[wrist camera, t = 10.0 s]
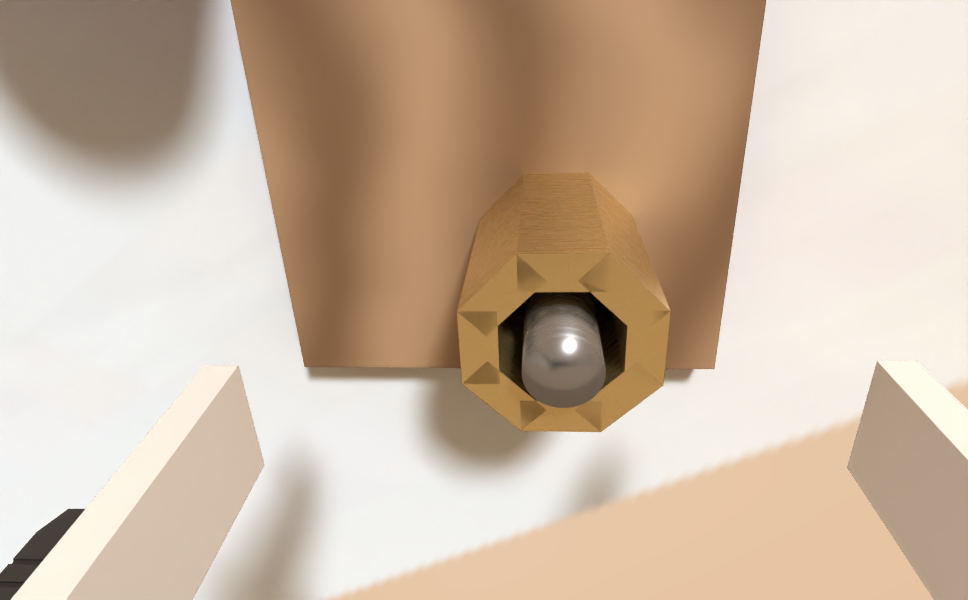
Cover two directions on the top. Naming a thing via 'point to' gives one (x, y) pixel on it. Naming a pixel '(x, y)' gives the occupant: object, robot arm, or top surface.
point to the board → (490, 149)
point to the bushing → (561, 268)
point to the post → (562, 349)
